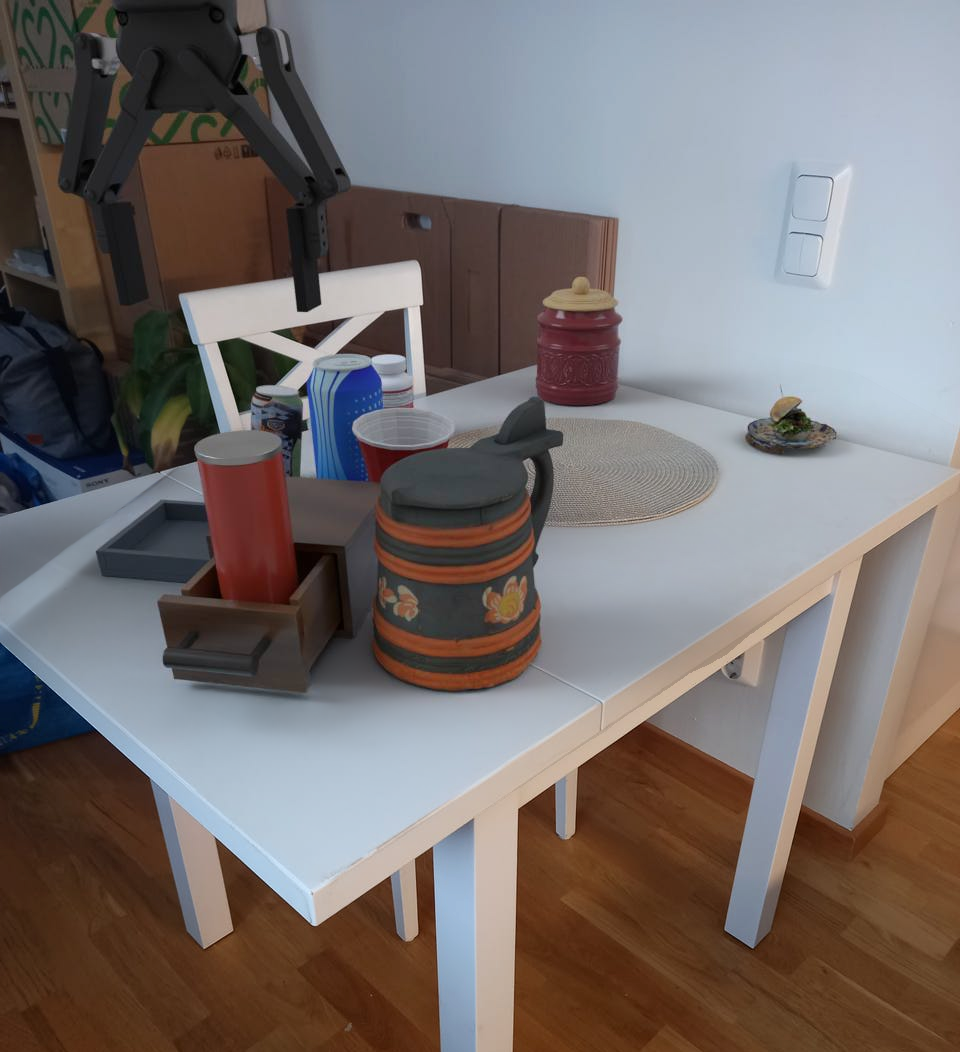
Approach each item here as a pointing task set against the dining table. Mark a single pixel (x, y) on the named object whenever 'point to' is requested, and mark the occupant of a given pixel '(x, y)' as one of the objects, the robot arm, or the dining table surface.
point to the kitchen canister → (578, 346)
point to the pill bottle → (394, 381)
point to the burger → (788, 429)
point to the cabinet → (338, 537)
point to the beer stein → (463, 557)
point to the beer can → (341, 412)
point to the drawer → (252, 629)
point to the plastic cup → (399, 436)
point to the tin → (249, 515)
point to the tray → (159, 544)
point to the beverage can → (280, 421)
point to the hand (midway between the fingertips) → (220, 305)
